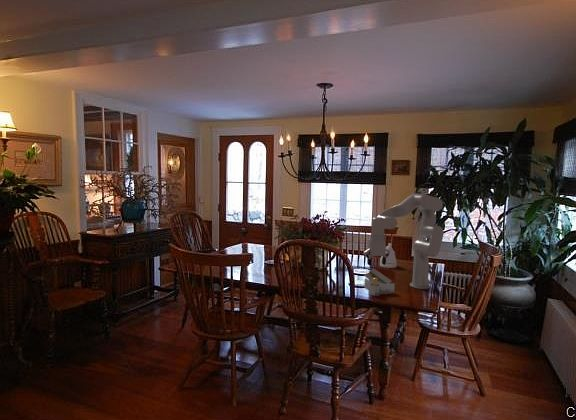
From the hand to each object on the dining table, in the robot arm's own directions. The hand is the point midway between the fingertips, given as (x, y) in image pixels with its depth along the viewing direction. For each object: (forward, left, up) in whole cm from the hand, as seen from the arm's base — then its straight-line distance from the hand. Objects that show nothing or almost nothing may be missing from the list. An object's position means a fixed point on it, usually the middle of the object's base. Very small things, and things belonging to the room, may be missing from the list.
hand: (376, 264), depth 228 cm
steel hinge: (-5, -5, -19) cm, 20 cm away
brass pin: (0, 0, -19) cm, 19 cm away
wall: (-10, -17, -19) cm, 27 cm away
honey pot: (-44, -64, -19) cm, 80 cm away
